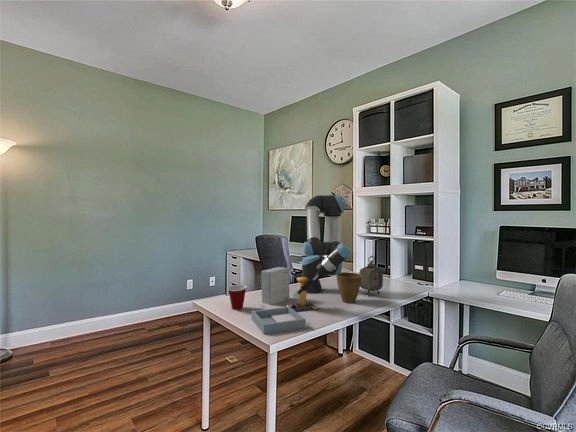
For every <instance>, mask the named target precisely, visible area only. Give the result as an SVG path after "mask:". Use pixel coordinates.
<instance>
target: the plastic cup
mask: <svg viewBox="0 0 576 432" xmlns="http://www.w3.org/2000/svg"><path fill="white" fill-rule="evenodd" d="M247 287H248V286H247V285H245V284H235V285H229V286H228V287H227V288H226V290H227V292H228V294H229V299H230V304H231V305H230V306H231V310H234V311H241V310H243V309H244V302H245V297H246V296H245V295H246V291H247Z"/></svg>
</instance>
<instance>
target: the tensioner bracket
mask: <svg viewBox="0 0 576 432" xmlns="http://www.w3.org/2000/svg"><path fill="white" fill-rule="evenodd" d="M284 307H290V308H291V309H293V310H294V311H295V312H297V313H302V312H310V311H319V310H321V308H319V306H318V305H315V304H313V303H312V302H308V303H307V302H306V306H304V307H299V306H298V302H295V303H289V304H286V305H284Z"/></svg>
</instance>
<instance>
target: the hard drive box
mask: <svg viewBox="0 0 576 432" xmlns="http://www.w3.org/2000/svg"><path fill="white" fill-rule="evenodd" d="M286 301H290V268H289V267H288V268H287V267H282V266H279V267H272V268H269V269H265V270H261V303H263V304H266V305H269V306H271V305H276V304H279V303H282V302H286Z"/></svg>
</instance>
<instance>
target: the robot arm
mask: <svg viewBox="0 0 576 432" xmlns="http://www.w3.org/2000/svg"><path fill="white" fill-rule="evenodd" d="M344 211H345V207H344V200H343V197H342V196H341V195H337V194H335V195H333V194H328V195H326V194H325V195H322V194H321V195H319V194H318V195H315V196H313V197H311V198H310V199H309V200H308V202H306V205H305V208H304V213H305V215H306V236H307V237H306V240H307V241H304V243H303V253H304V255H305V257H303V258H302V260H301V262H302V263H301V266H302V267H301V277H306V278H308V281H306V283H305V284H304V285H303V286H300V287H301V288H300V289H299V290H298V289H297V290H296V291H295V292H294V293H292V297H293V298H294V299H295V300H298V297H299V296H300V295H301V294H302V293H303V292H304V291H306V294H317V293H320V292H322V291H323V287H322V284H321V281H320V278H321V277H322V276H323V277H324V278H325V277H328V276H336V274H338V273H342V269H343V262H344V261H345V260H346V259H347V258H348V257H350V255H351V253H352V251H351V249H350V248H349V247H348V246H347V245H346V244H345V243H343V242H341V241H339V225H340V223H339V222H340V220H339V219H340V218H341V217H342V214H344V213H345V212H344ZM321 214H323V217H324V218H325V230H324V231H325V232H324V233H325V234H324V235H325V241H321V230H320V227H321V226H320V215H321ZM320 256H322V257H320Z"/></svg>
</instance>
